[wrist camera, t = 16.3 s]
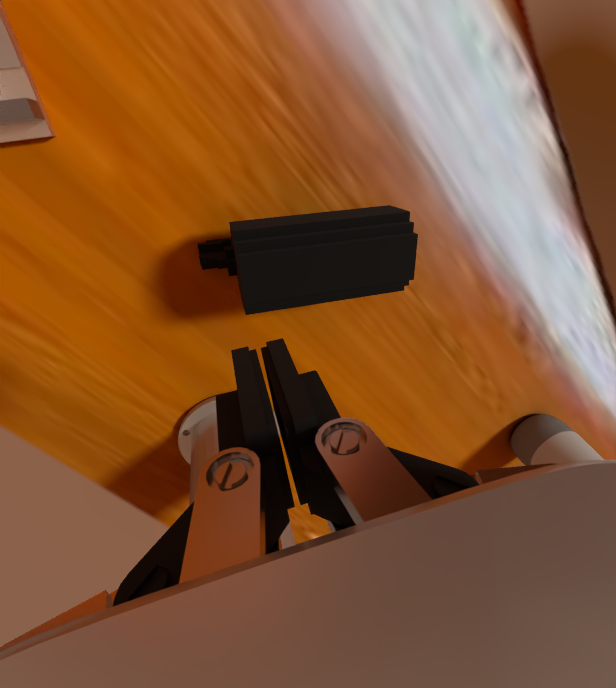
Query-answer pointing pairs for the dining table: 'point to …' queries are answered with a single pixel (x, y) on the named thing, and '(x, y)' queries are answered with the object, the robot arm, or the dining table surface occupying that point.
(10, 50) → the rail board
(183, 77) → the dining table surface
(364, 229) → the security camera
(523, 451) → the smart speaker
